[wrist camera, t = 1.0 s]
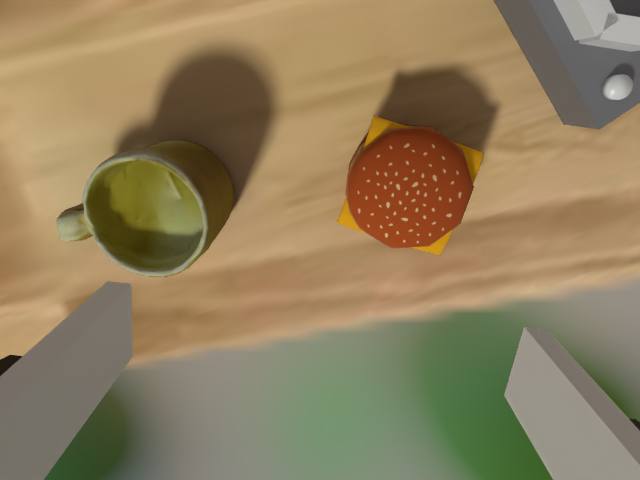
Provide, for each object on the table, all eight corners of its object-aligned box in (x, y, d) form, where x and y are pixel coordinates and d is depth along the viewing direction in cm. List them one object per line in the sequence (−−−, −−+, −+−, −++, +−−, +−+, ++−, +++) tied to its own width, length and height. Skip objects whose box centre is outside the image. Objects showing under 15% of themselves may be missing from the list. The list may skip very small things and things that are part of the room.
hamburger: (472, 137, 37) (502, 148, 31) (431, 244, 40) (451, 273, 34) (363, 105, 36) (371, 109, 30) (329, 215, 39) (330, 240, 33)
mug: (242, 117, 35) (184, 178, 27) (255, 226, 41) (211, 302, 33) (101, 107, 37) (9, 161, 29) (133, 212, 43) (64, 280, 35)
